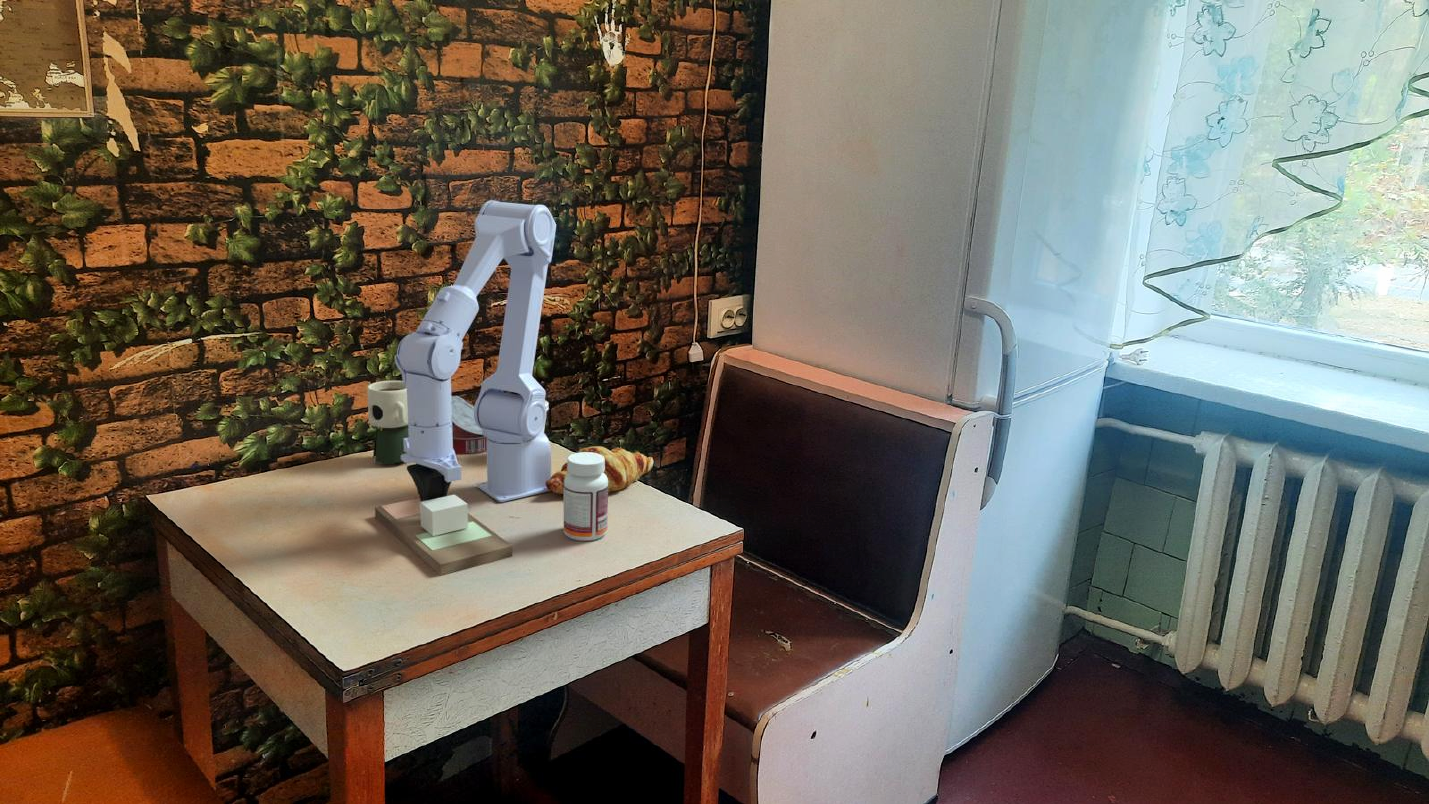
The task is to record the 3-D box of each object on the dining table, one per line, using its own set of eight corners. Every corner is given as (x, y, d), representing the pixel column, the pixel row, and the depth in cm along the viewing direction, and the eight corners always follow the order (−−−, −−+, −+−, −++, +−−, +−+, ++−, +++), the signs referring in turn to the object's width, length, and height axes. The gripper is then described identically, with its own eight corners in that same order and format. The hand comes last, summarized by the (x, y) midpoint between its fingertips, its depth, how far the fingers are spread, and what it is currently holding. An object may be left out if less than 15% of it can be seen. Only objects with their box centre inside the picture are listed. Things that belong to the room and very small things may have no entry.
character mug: (361, 454, 159) (356, 380, 156) (403, 448, 164) (399, 375, 160) (383, 474, 151) (379, 396, 148) (426, 467, 155) (423, 391, 152)
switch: (441, 502, 142) (441, 492, 141) (512, 556, 125) (512, 545, 125) (375, 517, 135) (374, 506, 135) (440, 575, 119) (440, 563, 119)
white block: (455, 517, 132) (454, 494, 131) (468, 527, 129) (467, 503, 128) (420, 525, 129) (419, 502, 128) (433, 536, 126) (432, 511, 125)
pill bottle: (598, 522, 138) (600, 448, 135) (613, 538, 132) (615, 462, 129) (557, 527, 135) (558, 453, 132) (571, 545, 130) (571, 467, 127)
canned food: (472, 460, 173) (491, 409, 174) (498, 470, 166) (518, 417, 167) (417, 441, 166) (438, 388, 167) (442, 451, 158) (463, 396, 159)
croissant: (639, 485, 162) (626, 440, 163) (676, 473, 155) (663, 427, 156) (537, 513, 147) (523, 464, 148) (573, 502, 140) (559, 450, 141)
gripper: (380, 411, 130) (385, 503, 134) (423, 440, 120) (427, 539, 124) (429, 404, 135) (432, 493, 139) (475, 431, 124) (477, 527, 128)
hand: (433, 514), depth 131 cm, fingers closed
